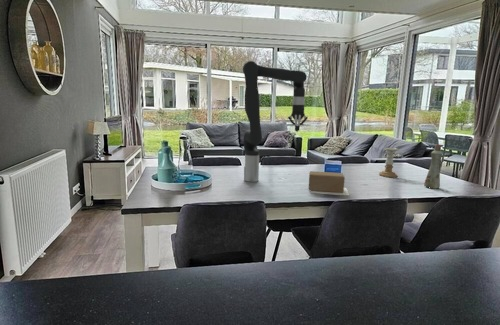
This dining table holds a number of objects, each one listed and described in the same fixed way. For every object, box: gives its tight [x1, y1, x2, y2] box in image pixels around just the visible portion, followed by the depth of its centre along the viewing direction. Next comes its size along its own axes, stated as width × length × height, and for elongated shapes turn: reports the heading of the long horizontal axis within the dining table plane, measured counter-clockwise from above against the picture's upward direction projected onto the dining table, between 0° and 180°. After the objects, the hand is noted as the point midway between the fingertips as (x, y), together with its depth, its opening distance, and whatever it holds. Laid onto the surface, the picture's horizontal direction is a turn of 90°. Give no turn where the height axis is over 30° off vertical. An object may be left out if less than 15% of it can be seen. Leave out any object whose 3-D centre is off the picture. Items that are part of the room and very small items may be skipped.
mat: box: [309, 187, 350, 196], centre depth 194 cm, size 22×16×1 cm
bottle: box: [423, 143, 443, 189], centre depth 204 cm, size 9×9×28 cm
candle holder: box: [378, 147, 400, 178], centre depth 235 cm, size 12×12×20 cm
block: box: [308, 170, 345, 193], centre depth 193 cm, size 10×10×20 cm
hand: (297, 131), depth 209 cm, fingers closed
